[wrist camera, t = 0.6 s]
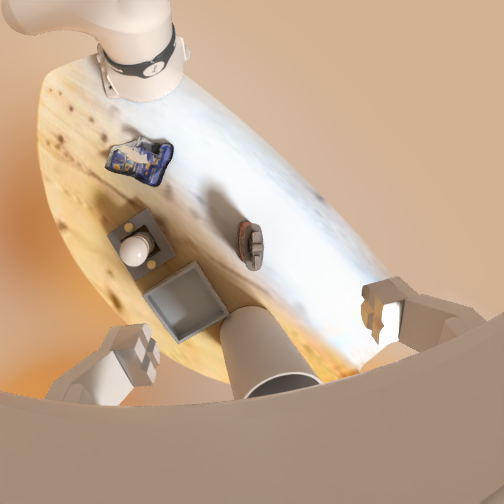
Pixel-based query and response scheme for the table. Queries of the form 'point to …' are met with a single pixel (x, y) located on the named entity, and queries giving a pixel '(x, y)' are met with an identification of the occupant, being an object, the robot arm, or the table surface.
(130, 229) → the block
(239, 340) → the cylinder vase
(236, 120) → the table surface
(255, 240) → the lighter
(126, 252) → the ball
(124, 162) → the snack package
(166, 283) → the tray
